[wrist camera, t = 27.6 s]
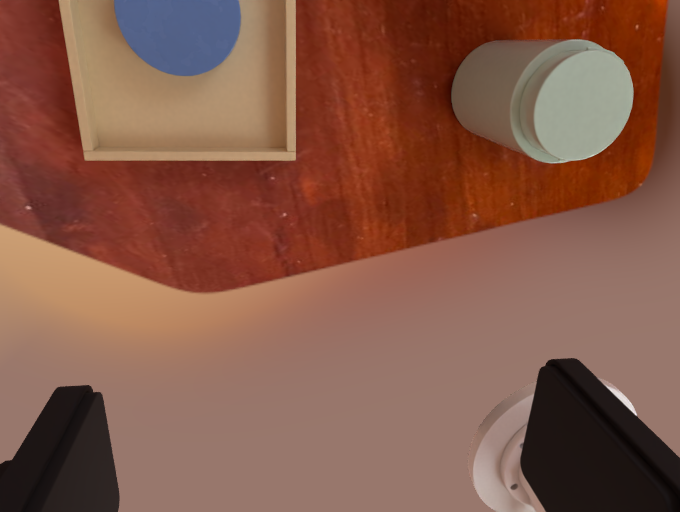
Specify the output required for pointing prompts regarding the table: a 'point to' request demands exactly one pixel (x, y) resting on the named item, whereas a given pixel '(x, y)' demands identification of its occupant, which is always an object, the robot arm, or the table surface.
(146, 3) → the lid
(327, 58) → the table surface
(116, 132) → the tray
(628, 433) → the robot arm
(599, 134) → the jam jar
